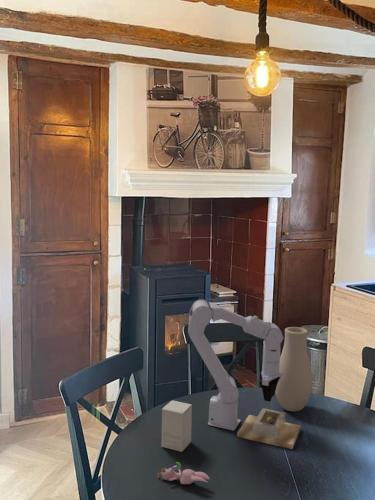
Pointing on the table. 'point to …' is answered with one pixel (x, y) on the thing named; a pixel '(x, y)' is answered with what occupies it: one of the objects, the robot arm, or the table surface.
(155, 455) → the table surface
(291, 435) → the board
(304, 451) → the table surface
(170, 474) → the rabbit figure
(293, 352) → the vase
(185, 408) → the supplement box
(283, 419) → the beige hollow boxy piece
